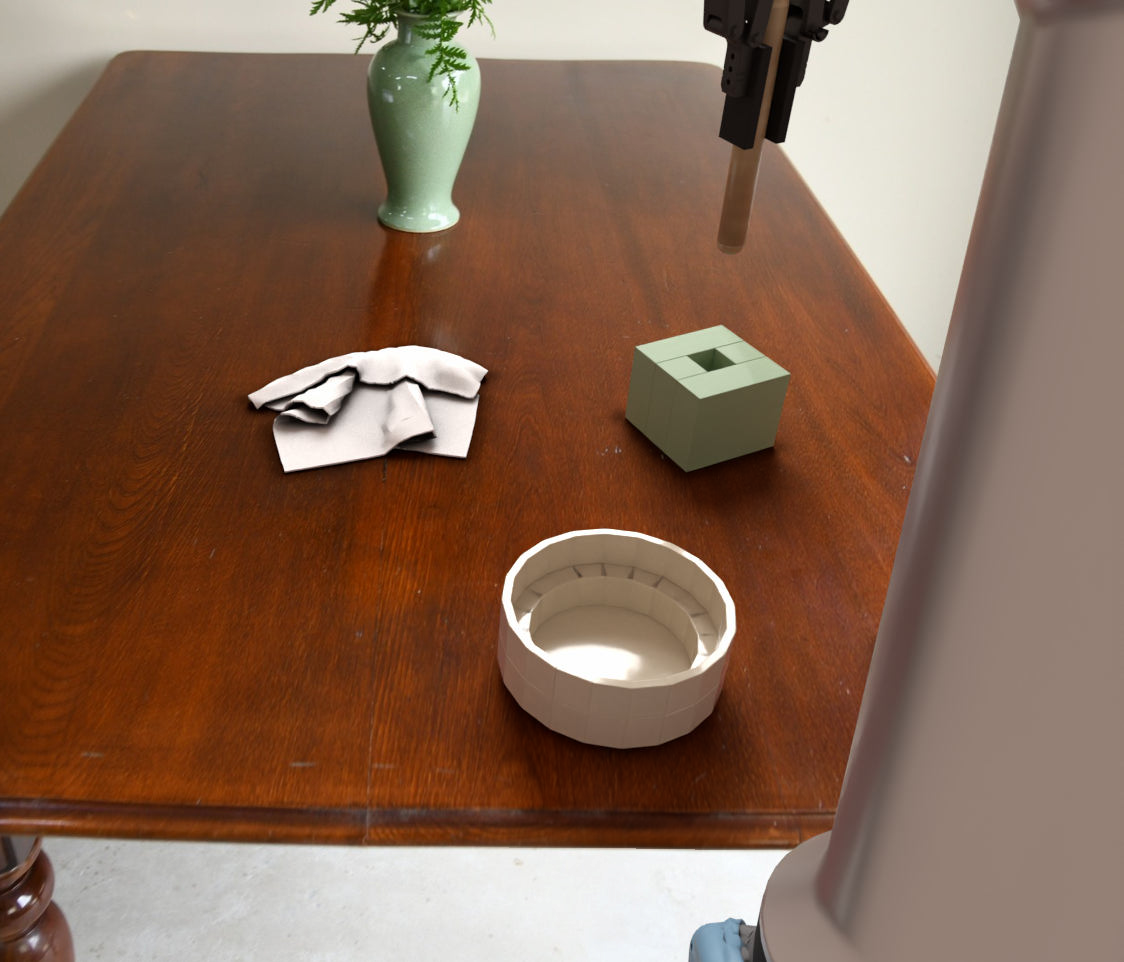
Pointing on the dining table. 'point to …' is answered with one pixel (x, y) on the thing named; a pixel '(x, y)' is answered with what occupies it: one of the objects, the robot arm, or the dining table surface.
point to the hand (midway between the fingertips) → (751, 138)
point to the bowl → (615, 637)
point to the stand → (706, 397)
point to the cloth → (374, 406)
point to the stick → (750, 150)
